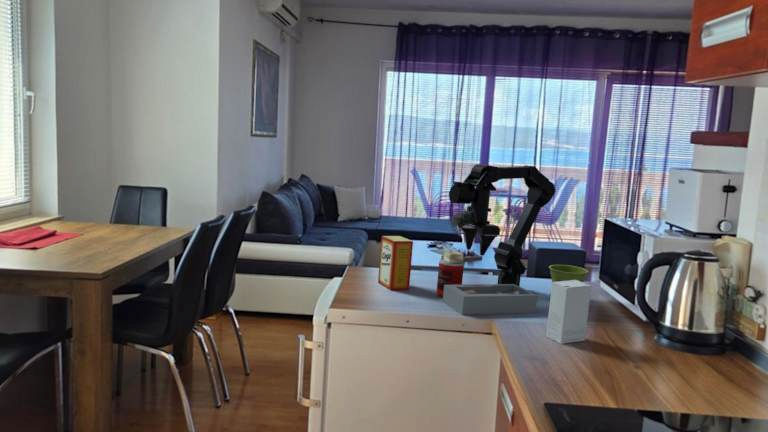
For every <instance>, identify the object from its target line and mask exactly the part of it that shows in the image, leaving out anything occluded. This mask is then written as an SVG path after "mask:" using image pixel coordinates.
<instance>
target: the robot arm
mask: <svg viewBox="0 0 768 432" xmlns="http://www.w3.org/2000/svg"><path fill="white" fill-rule="evenodd" d="M510 179H511V180H512V179H523V181H524V184H525V186H526V187H527V188H528V190H527V192H526V197H527V198H526V201H527V202H526V203H525V206H524V208H523V210H522V212H521V214H520V216H519V218H518V220H517V222H516V224H515V225H514V228H513V229H512V232H511V234H510V235H509V238H508V239H507V240H505V241H504V242H503V241H500V242H499V243H498V245H497V247H496V249H495V250H494V257H493V258H494V262H495V264H496V268H497V270H499V274H498V276H497V282H496V284H515V285H517V286H519V287H521V286H520V285H521V284H520V283H521V275H524V274H525V273H526V270H527V267H526V266H525V265H524V264H523V262H522V261H521V260H522V257H523V245H524V243H525V241H526V239H527V237H528V235H529V233H530V231H531V229H532V227H533V225H534V223H535V221H536V220H537V217H538V215H539V213H540V212H541V209H542V208H544V207H545V206H546V205H547V204H548V203H550V202H551V200H552V199H553V197H554V196H555V193H556V187H555V184H554V183H553V182H552V181H550V179H549V178H548V177H546V176H545V175H544V174H543V173H541V171H540V170H539V169H538V168H537V166H535V165H520V166H519V165H518V166H494V165H487V164H480V163H479V164H478V163H477V164H475V165H473V167H471V170H470V172H469V174H467V176H466V177H465V179H464V180H463V182H461V181H454V182H453V185H452V186H451V187H450V189H449V191H448V198H449V199H448V200H449V202H450V203H451V204H454V205H455V204H458V205H459V204H463V205H468V206H467V207H466V210H465V211H462V212H459V213H456V214H453V215H452V217H451V218H452V222H453V226H455V227H457V228H458V229H459V230H460V231H461V232H462V233H463V237H464V240H465V247H466V250H468V251H470V250H471V249H472V246H473V244H474V241H475V238H476V236H477V237H478V239H479V254H480V256H484V255H485V254H486V252H487V251H488V249H489V248H490V246H491V244H492V243H493V241H494V240H495V239H496V238H497V237H498V236H500V234H501V228H500V227H499V225H495V224H492V223H491V221H490V220H488V218H489V213H491V212H492V208H491V207H490V199H491V198H490V197H491V191H492V192H493V191H495V192H496V191H497V188H496V186H494V185H493V183H496V182H499V181H500V180H510Z"/></svg>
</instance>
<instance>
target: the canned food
mask: <svg viewBox="0 0 768 432" xmlns="http://www.w3.org/2000/svg"><path fill="white" fill-rule="evenodd" d="M464 267H465V262H464V261H463V263H449V262H447V261H445V260H444V258H441V259H439V263H438V273H437V283H436V295H437V296H438V297H439V298H442V299H443V292H444V285H463V278H464V271H465V270H464V269H465V268H464Z"/></svg>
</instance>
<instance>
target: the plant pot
mask: <svg viewBox="0 0 768 432" xmlns="http://www.w3.org/2000/svg"><path fill="white" fill-rule="evenodd" d="M548 269H549V270H550V277H551V283H552V282H559V281H569V280H578V281H580V282H583V283H584V281H585V279H586V275H587V274H588V273H589V270H588V269H585V268H583V267H579V266H575V265H569V264H551V265H549V266H548Z"/></svg>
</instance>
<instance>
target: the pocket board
mask: <svg viewBox="0 0 768 432" xmlns="http://www.w3.org/2000/svg"><path fill="white" fill-rule="evenodd" d="M514 289H516V290H518V291H520V292H521V294H517V295H508V294H504V293H511V292H514ZM468 290H473V291H475V292H476V294H467V293H465V292H463V291H468ZM497 292H500V293H502V294H497ZM538 297H539V295H538V294H535V293H533V292H532V291H529V290H528V289H525V288H523V287H521V286H517V285H515V284H497V283H496V284H493V283H492V284H489V283H488V284H487V283H485V284H477V283H476V284H474V283H473V284H462V285H444V292H443V298H442V303H444V304H445V305H447V306H448V307H450V308H451V309H453V310H454V311H455V312H457V313H458V314H460V315H499V314H503V315H504V314H505V315H506V314H534V313H537V305H538Z"/></svg>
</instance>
